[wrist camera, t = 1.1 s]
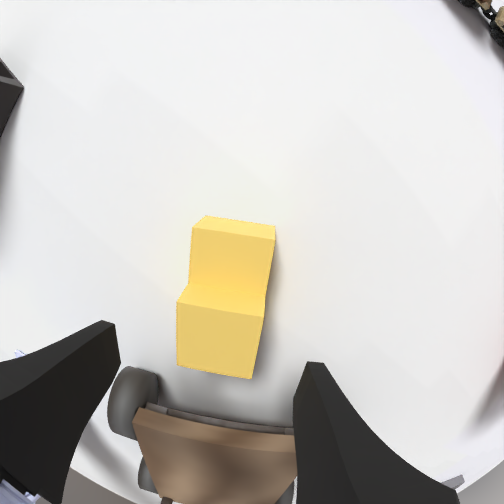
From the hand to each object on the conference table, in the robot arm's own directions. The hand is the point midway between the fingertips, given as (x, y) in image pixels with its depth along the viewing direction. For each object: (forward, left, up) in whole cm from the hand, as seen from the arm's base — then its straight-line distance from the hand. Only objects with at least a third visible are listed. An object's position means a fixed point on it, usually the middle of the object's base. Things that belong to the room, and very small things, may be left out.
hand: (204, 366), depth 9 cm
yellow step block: (0, 0, -8) cm, 8 cm away
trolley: (+1, -18, -8) cm, 20 cm away
